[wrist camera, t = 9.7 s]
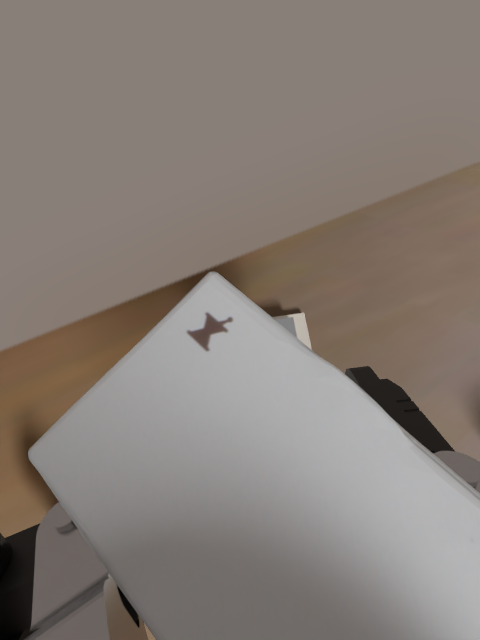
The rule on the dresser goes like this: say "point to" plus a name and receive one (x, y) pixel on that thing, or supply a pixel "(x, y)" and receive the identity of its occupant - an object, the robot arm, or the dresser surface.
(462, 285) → the dresser surface
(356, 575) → the skincare box
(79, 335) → the dresser surface
